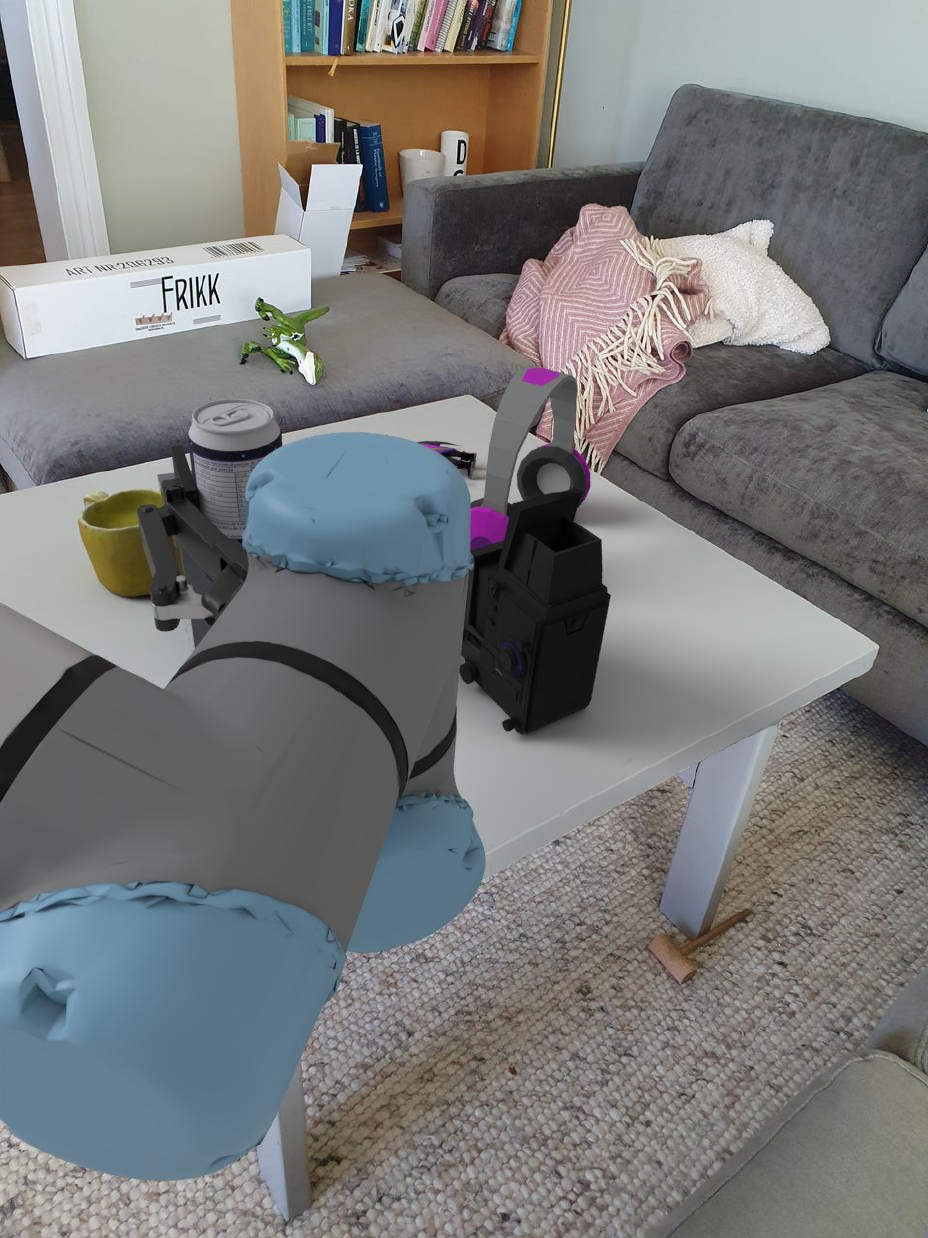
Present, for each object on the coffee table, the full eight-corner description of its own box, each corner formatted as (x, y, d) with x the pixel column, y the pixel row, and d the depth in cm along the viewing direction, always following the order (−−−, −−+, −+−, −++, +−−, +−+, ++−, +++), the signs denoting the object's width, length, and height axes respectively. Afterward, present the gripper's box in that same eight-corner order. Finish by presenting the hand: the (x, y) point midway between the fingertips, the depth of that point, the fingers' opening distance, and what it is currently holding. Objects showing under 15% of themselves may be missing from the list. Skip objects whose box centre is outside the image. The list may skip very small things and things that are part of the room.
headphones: (517, 596, 96) (538, 417, 84) (443, 570, 99) (454, 394, 87) (590, 514, 111) (617, 353, 99) (525, 494, 114) (543, 335, 102)
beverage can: (307, 579, 63) (299, 416, 56) (239, 611, 60) (222, 442, 53) (255, 547, 66) (242, 388, 59) (188, 576, 63) (166, 411, 56)
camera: (514, 629, 91) (535, 443, 79) (603, 708, 82) (642, 512, 70) (429, 660, 86) (438, 467, 74) (513, 747, 77) (540, 544, 66)
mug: (221, 568, 93) (173, 486, 87) (132, 625, 90) (76, 543, 84) (181, 535, 102) (135, 458, 96) (99, 585, 99) (46, 509, 93)
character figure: (477, 460, 122) (360, 440, 123) (481, 434, 119) (361, 414, 120) (467, 492, 114) (342, 472, 115) (471, 465, 112) (343, 444, 113)
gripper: (122, 755, 45) (92, 524, 62) (474, 682, 51) (357, 490, 68) (96, 634, 40) (71, 421, 58) (484, 570, 47) (357, 395, 64)
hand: (226, 459), depth 63 cm, fingers closed on beverage can, 6 cm apart
